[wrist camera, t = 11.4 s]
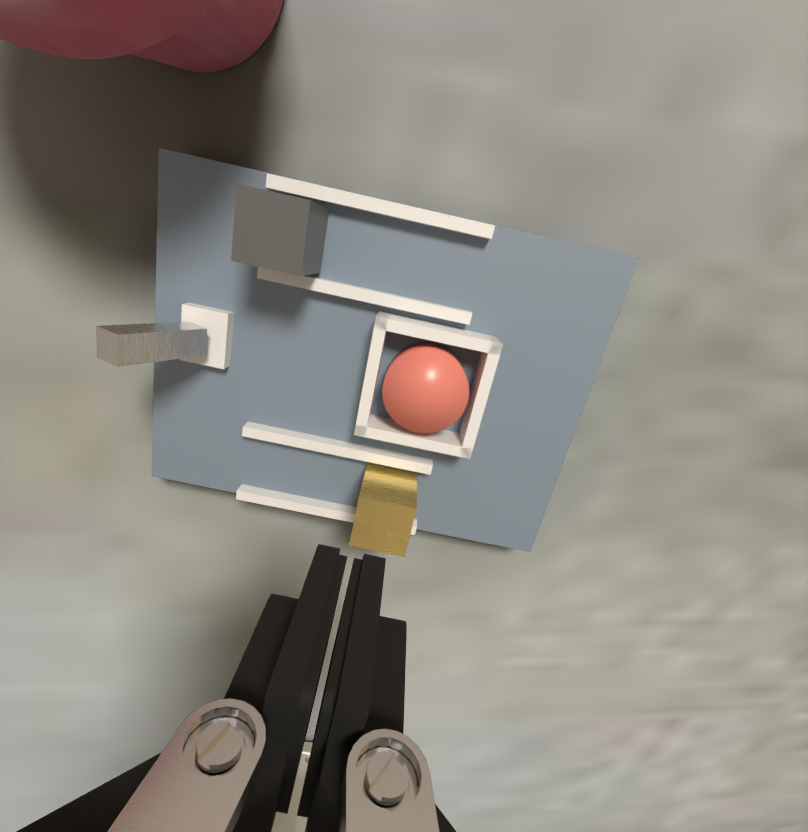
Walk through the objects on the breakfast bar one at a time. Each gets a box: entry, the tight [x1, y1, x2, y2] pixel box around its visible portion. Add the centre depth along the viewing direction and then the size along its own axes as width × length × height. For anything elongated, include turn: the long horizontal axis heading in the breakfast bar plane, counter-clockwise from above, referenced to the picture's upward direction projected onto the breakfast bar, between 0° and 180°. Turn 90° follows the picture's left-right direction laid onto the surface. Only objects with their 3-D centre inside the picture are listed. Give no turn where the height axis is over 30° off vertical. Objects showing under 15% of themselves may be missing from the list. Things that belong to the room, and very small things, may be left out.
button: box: [382, 343, 469, 433], centre depth 24 cm, size 4×4×2 cm
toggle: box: [96, 322, 207, 366], centre depth 21 cm, size 1×1×5 cm
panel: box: [152, 148, 639, 552], centre depth 25 cm, size 18×24×4 cm
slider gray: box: [231, 184, 329, 276], centre depth 21 cm, size 3×3×4 cm
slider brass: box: [349, 463, 417, 557], centre depth 25 cm, size 3×3×4 cm
